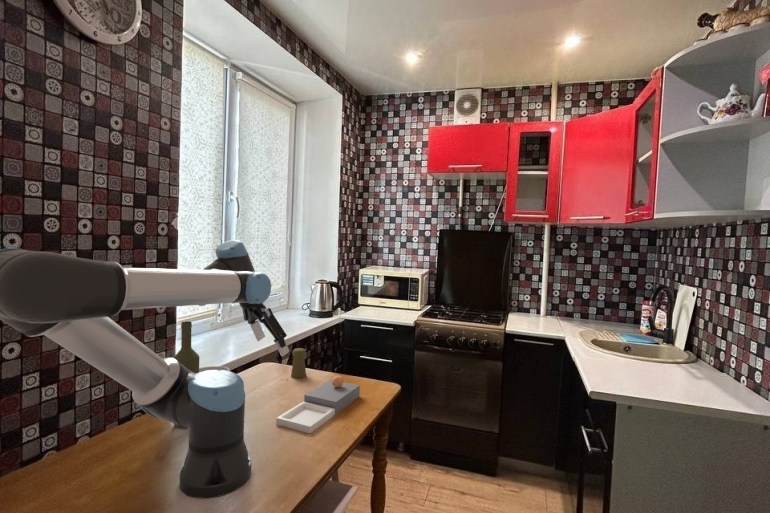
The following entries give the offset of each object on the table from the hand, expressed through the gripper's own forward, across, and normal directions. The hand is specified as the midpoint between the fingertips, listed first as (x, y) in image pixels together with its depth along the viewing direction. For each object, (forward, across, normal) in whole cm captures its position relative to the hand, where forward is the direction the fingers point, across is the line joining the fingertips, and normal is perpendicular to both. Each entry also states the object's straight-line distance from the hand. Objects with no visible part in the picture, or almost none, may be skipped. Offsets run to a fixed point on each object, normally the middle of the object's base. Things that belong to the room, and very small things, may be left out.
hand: (272, 345), depth 126 cm
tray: (+19, -15, +5) cm, 25 cm away
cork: (+33, +18, -11) cm, 39 cm away
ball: (+22, -9, -12) cm, 27 cm away
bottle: (+9, +6, +30) cm, 32 cm away
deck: (+26, -10, -7) cm, 29 cm away
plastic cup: (+15, +14, +21) cm, 30 cm away
